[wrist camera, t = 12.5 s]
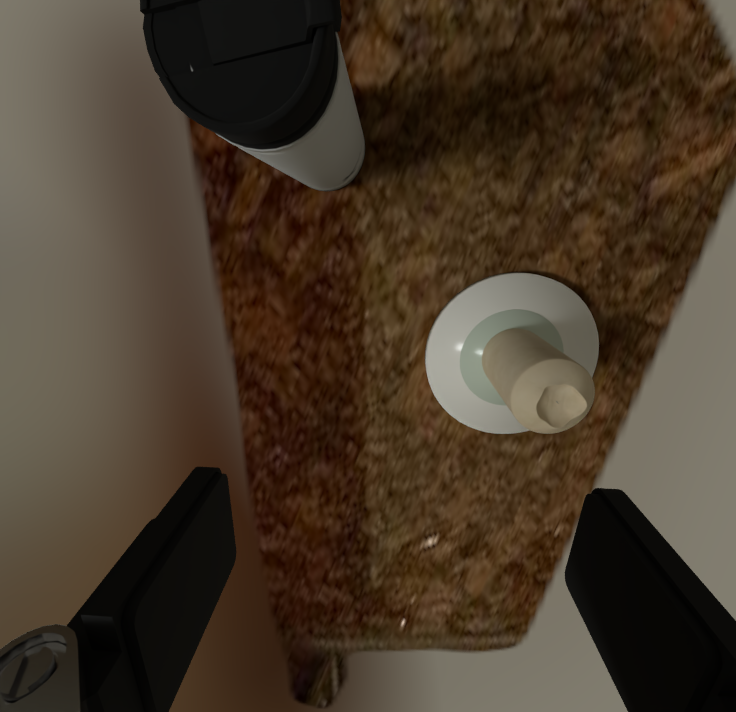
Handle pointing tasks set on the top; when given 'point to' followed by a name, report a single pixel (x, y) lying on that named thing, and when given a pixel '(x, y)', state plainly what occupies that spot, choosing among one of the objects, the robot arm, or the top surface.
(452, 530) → the top surface
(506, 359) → the candle
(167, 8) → the travel mug
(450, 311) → the ceramic plate
